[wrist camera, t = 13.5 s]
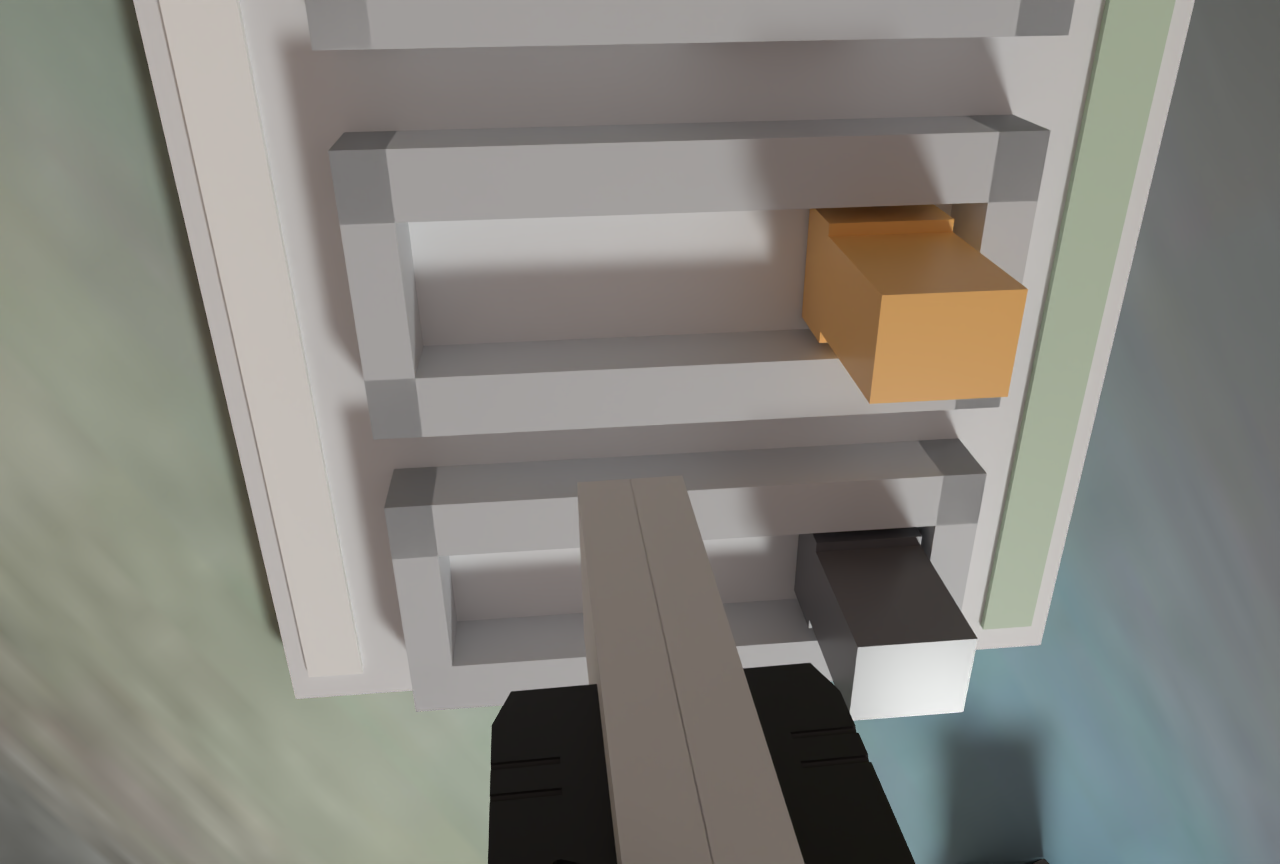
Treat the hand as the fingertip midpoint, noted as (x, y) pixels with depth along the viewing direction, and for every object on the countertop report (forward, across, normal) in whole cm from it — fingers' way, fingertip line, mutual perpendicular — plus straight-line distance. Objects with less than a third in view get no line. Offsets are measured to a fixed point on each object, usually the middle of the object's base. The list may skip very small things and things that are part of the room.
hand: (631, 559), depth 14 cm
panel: (+13, +3, +1) cm, 14 cm away
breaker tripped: (+12, +7, +1) cm, 14 cm away
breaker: (+12, +8, -8) cm, 16 cm away
